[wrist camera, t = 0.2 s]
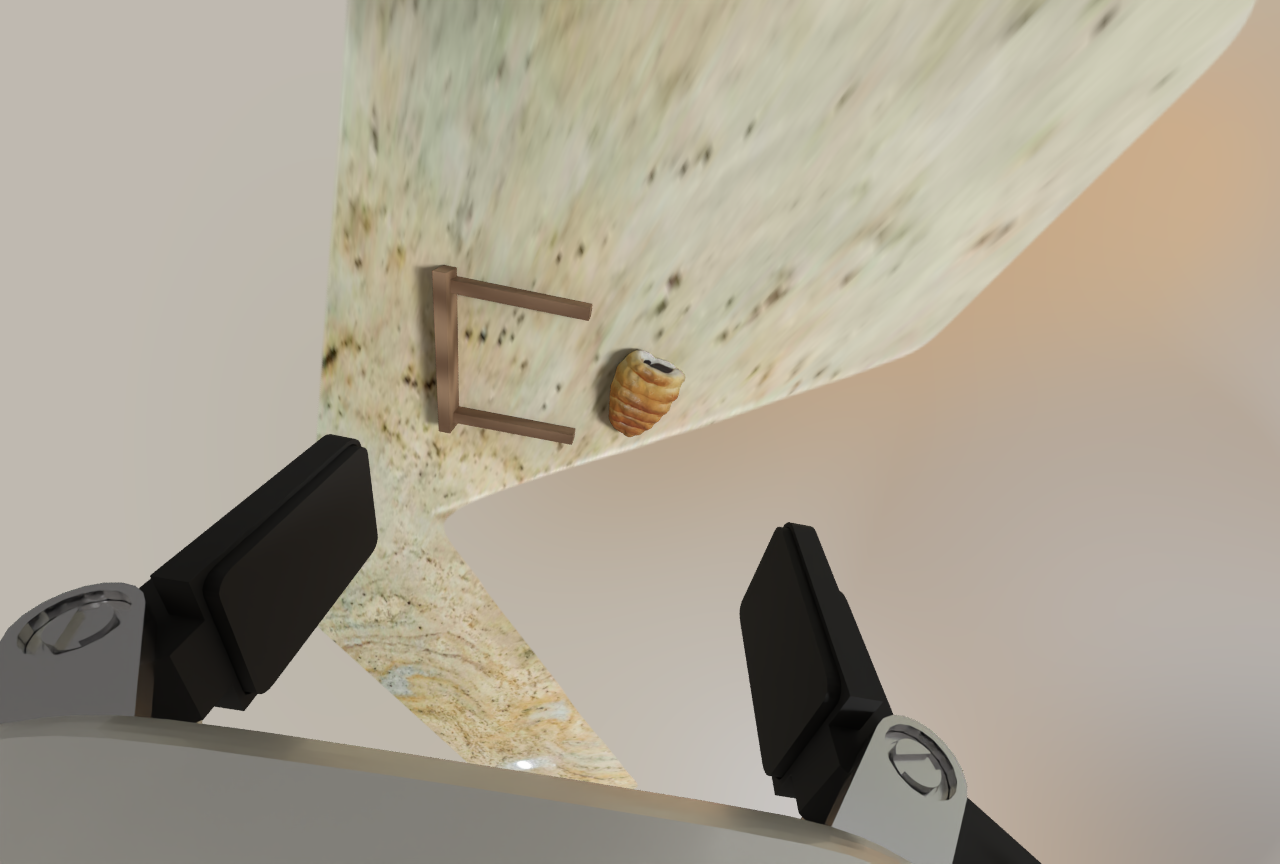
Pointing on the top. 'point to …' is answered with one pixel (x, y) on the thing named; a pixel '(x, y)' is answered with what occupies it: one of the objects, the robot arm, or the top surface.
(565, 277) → the top surface
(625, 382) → the pastry
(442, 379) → the bay
